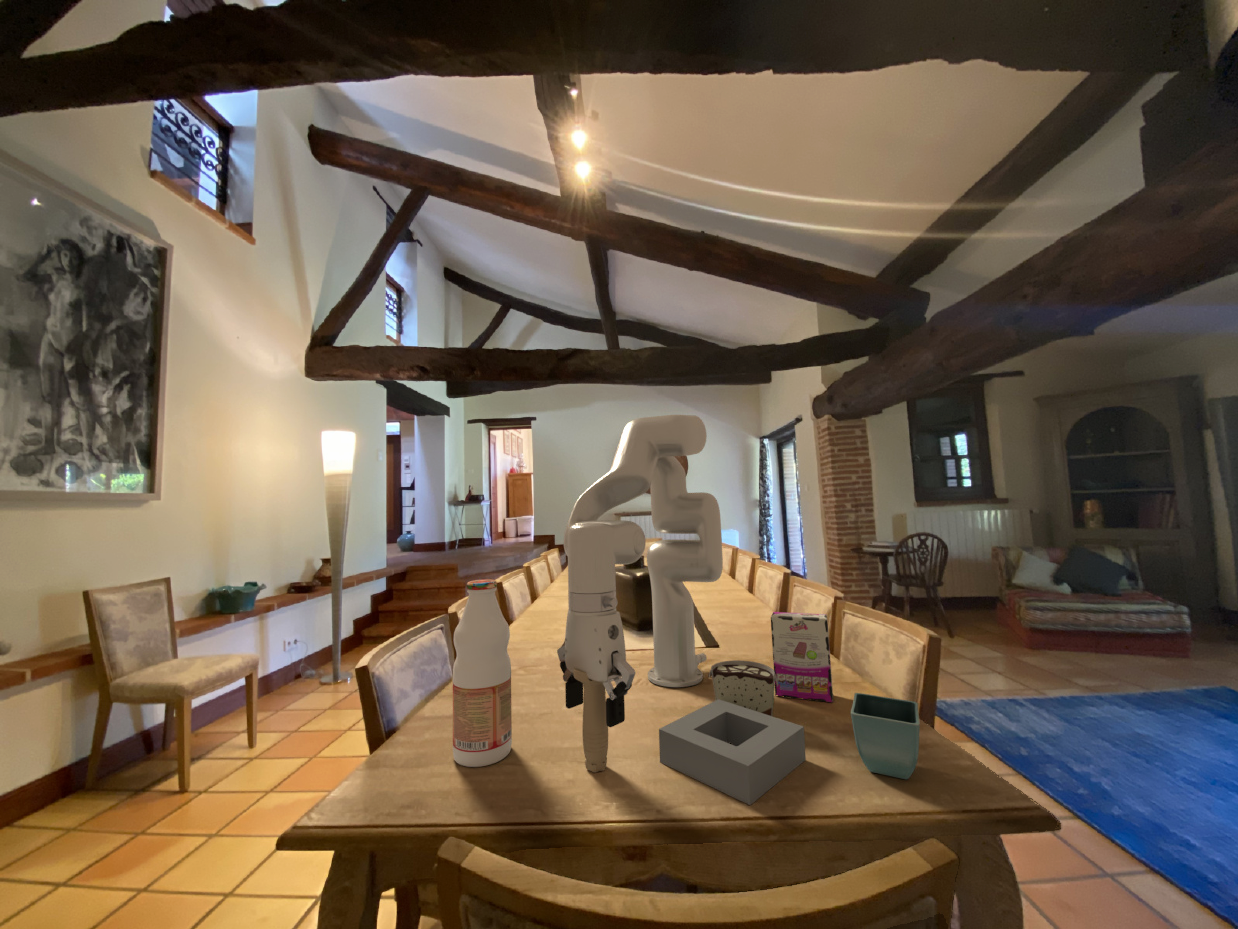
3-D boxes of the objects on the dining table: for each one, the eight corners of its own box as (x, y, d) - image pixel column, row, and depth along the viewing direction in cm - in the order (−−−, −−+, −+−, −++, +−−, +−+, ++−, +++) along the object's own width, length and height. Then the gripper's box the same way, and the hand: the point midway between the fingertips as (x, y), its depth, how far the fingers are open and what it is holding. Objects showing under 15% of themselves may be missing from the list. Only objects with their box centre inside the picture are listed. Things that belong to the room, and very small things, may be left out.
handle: (614, 778, 73) (611, 673, 74) (571, 775, 74) (570, 672, 75) (619, 761, 78) (616, 663, 79) (579, 758, 79) (577, 662, 80)
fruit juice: (461, 775, 75) (461, 588, 77) (446, 750, 83) (446, 581, 85) (520, 756, 80) (518, 581, 82) (500, 735, 88) (499, 575, 90)
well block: (719, 728, 88) (718, 699, 89) (805, 760, 77) (803, 726, 77) (659, 762, 77) (658, 729, 78) (749, 805, 66) (748, 766, 66)
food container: (784, 719, 91) (781, 663, 92) (780, 733, 85) (777, 674, 86) (718, 709, 96) (716, 656, 97) (710, 722, 91) (708, 666, 91)
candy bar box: (832, 694, 102) (828, 613, 103) (833, 703, 97) (828, 618, 99) (776, 688, 106) (772, 610, 107) (774, 696, 102) (770, 615, 103)
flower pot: (925, 792, 68) (920, 724, 68) (854, 776, 72) (850, 712, 73) (922, 762, 75) (917, 701, 76) (858, 749, 80) (854, 692, 80)
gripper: (648, 605, 74) (651, 723, 73) (576, 592, 87) (578, 693, 85) (612, 613, 69) (614, 741, 68) (541, 598, 82) (541, 706, 80)
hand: (594, 714), depth 76 cm, fingers open, 9 cm apart
